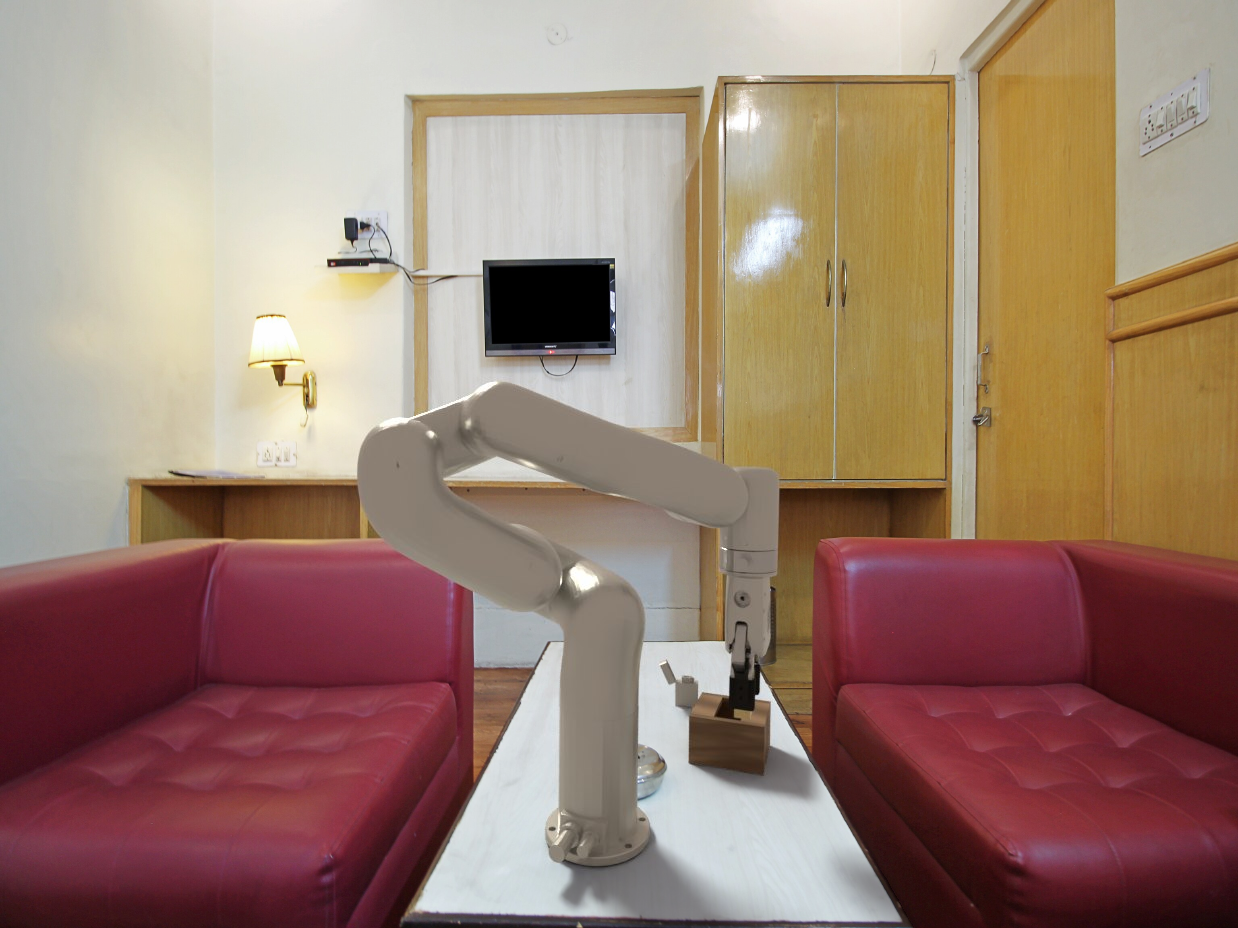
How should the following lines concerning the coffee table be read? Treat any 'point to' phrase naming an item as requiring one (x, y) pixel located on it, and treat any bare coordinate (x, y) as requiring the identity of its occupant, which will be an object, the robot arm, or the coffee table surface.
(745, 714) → the gold metal block
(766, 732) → the box
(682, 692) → the lighter
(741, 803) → the coffee table surface
